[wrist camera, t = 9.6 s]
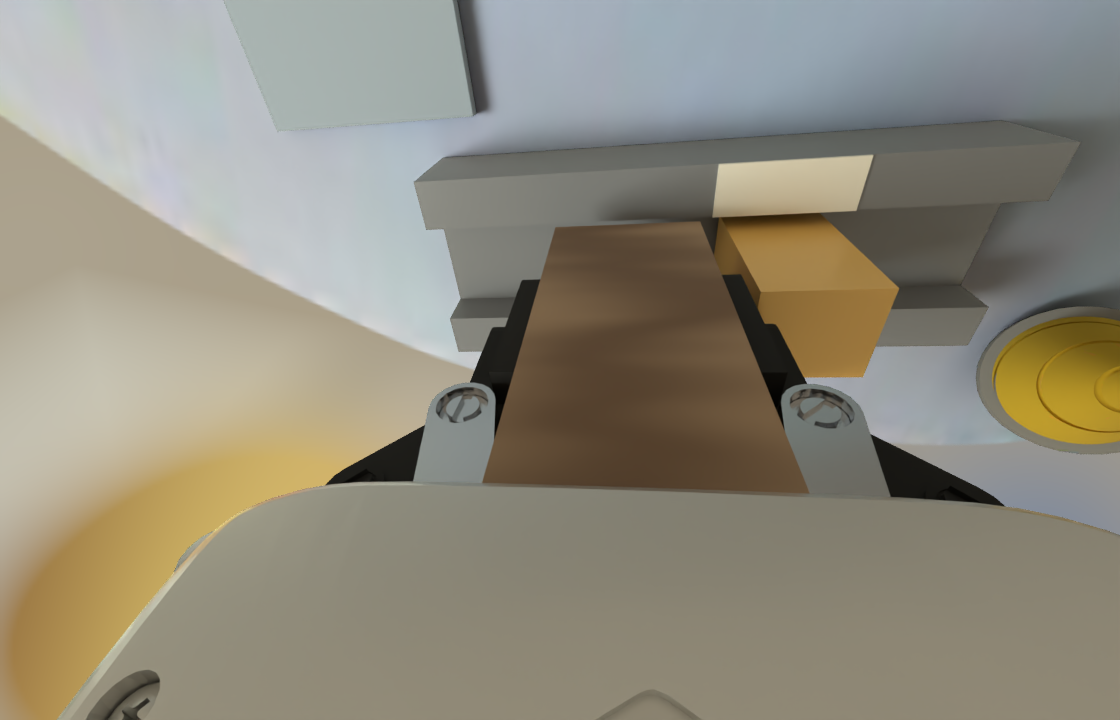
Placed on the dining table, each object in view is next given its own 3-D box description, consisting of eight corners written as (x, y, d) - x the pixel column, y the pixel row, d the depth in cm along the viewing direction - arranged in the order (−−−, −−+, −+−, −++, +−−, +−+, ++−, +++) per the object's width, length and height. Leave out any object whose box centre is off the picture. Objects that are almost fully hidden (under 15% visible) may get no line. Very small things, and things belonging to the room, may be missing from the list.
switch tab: (817, 210, 14) (899, 288, 10) (797, 283, 16) (862, 377, 12) (719, 214, 15) (760, 292, 11) (710, 286, 16) (743, 377, 12)
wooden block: (700, 221, 12) (847, 585, 4) (686, 341, 15) (767, 717, 7) (555, 227, 13) (458, 563, 5) (565, 342, 15) (511, 692, 7)
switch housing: (1001, 120, 14) (1084, 142, 12) (920, 301, 18) (969, 347, 15) (442, 157, 16) (412, 183, 14) (476, 311, 20) (457, 353, 18)
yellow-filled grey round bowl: (943, 407, 21) (975, 431, 13) (1002, 299, 20) (1075, 255, 12) (1101, 464, 19) (1264, 538, 10) (1180, 342, 17) (1430, 319, 9)
